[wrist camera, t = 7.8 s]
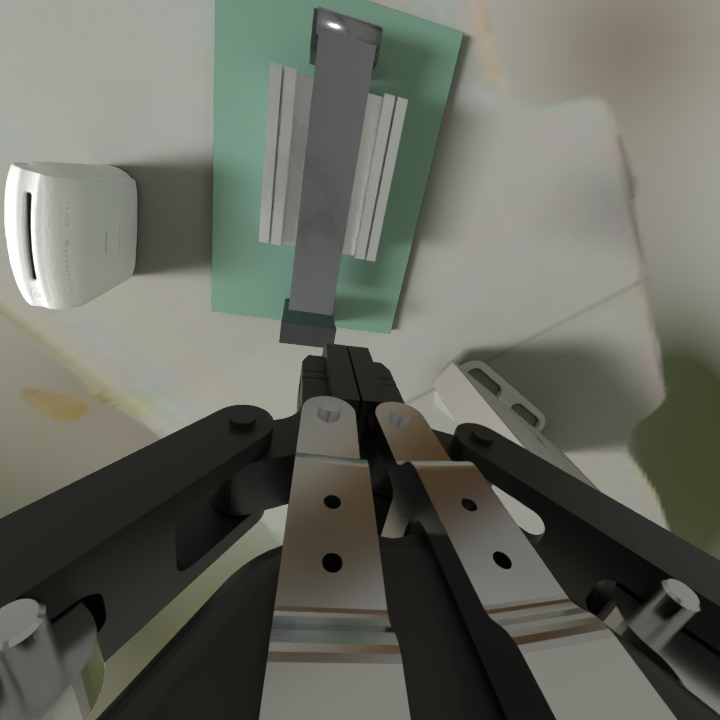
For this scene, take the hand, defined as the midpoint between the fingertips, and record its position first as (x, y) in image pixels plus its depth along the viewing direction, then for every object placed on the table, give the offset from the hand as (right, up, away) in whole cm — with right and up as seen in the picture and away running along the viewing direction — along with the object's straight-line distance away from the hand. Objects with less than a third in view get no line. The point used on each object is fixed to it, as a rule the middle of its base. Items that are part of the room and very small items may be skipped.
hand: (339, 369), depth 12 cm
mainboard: (-3, +17, +22) cm, 29 cm away
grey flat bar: (-2, +15, +17) cm, 22 cm away
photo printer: (-23, +13, +22) cm, 34 cm away
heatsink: (-3, +16, +22) cm, 27 cm away
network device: (+20, -7, +39) cm, 44 cm away
